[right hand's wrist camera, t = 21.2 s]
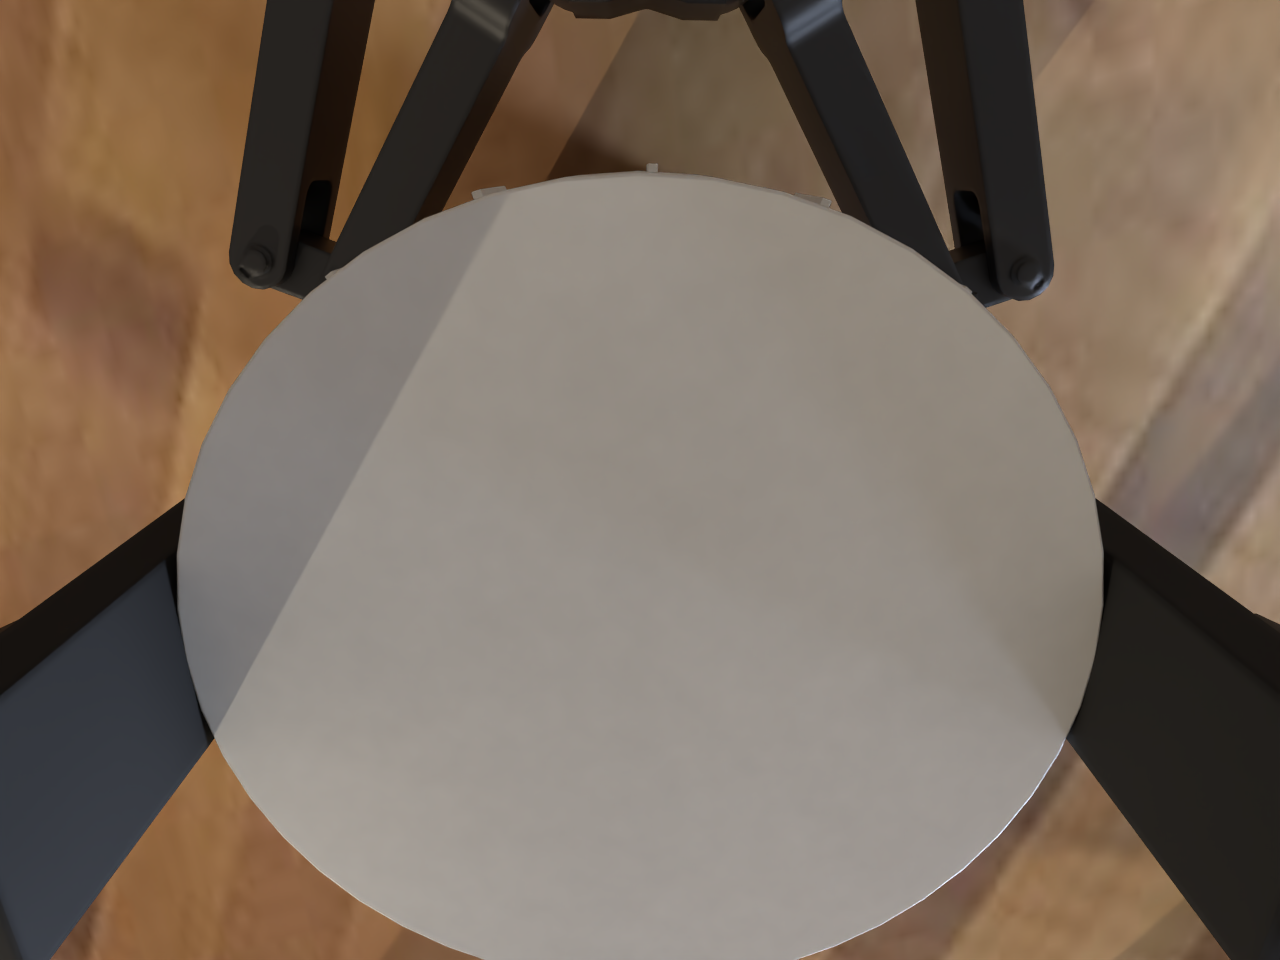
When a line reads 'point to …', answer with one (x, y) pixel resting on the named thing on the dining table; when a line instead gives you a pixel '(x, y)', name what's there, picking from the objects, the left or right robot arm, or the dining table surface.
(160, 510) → the dining table surface
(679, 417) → the lid
